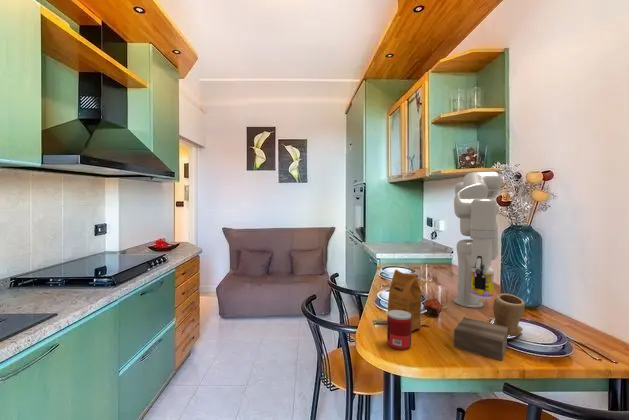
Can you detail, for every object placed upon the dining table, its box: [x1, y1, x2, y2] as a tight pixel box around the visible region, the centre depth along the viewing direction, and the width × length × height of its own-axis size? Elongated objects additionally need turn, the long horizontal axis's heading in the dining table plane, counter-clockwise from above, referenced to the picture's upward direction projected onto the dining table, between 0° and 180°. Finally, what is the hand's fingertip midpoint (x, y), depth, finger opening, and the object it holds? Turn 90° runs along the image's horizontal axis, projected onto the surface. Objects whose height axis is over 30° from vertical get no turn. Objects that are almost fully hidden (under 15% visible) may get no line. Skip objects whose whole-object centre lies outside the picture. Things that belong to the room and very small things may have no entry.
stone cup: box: [492, 293, 526, 337], centre depth 110 cm, size 15×12×15 cm
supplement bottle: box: [471, 260, 495, 300], centre depth 101 cm, size 7×7×13 cm
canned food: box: [386, 310, 412, 351], centre depth 101 cm, size 8×8×11 cm
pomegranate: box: [423, 298, 443, 317], centre depth 129 cm, size 7×7×10 cm
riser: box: [453, 316, 508, 361], centre depth 101 cm, size 14×14×6 cm
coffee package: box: [387, 269, 422, 332], centre depth 116 cm, size 10×12×22 cm
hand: (482, 286), depth 101 cm, fingers closed on supplement bottle, 6 cm apart
